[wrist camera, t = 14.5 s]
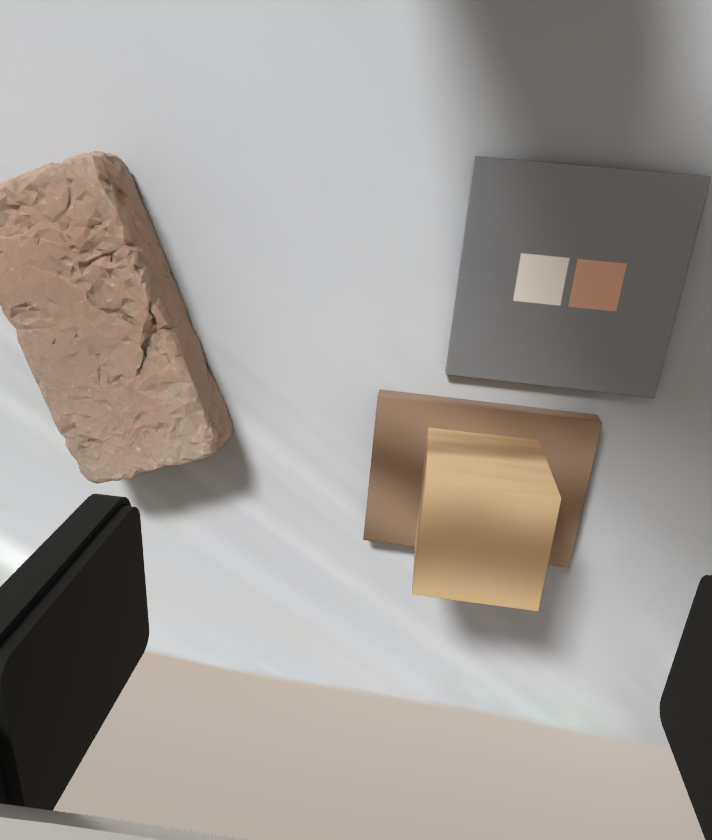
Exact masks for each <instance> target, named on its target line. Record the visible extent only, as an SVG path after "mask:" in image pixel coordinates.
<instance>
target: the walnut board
mask: <svg viewBox="0 0 712 840" xmlns="http://www.w3.org/2000/svg"><path fill="white" fill-rule="evenodd" d="M601 426H602V422H601V420H600V419H599V417H598V416H597V415H592V414H583V413H575V412H566V411H558V410H549V409H540V408H532V407H523V406H515V405H506V404H498V403H489V402H480V401H472V400H463V399H455V398H446V397H438V396H429V395H421V394H412V393H403V392H395V391H386V390H379V394H378V400H377V410H376V419H375V429H374V439H373V449H372V459H371V469H370V479H369V489H368V498H367V508H366V518H365V528H364V538H363V540H369V541H377V542H384V543H391V544H399V545H406V546H414V547H415V540H416V524H417V516H418V508H419V499H420V491H421V483H422V475H423V467H424V459H425V450H426V442H427V434H428V428H436V429H445V430H454V431H463V432H471V433H480V434H489V435H498V436H507V437H516V438H525V439H534V440H539V441H540V444H541V447H542V449H543V452H544V454H545V457H546V460H547V462H548V465H549V468H550V470H551V473H552V475H553V478H554V481H555V483H556V486H557V488H558V491H559V494H560V496H561V503H560V508H559V512H558V517H557V522H556V527H555V532H554V537H553V541H552V546H551V551H550V556H549V561H548V565H554V566H561V567H568V568H569V564H570V560H571V556H572V551H573V547H574V543H575V539H576V534H577V530H578V526H579V521H580V517H581V513H582V508H583V504H584V500H585V495H586V491H587V487H588V482H589V478H590V474H591V469H592V465H593V461H594V456H595V452H596V448H597V443H598V439H599V435H600V430H601Z"/></svg>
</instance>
